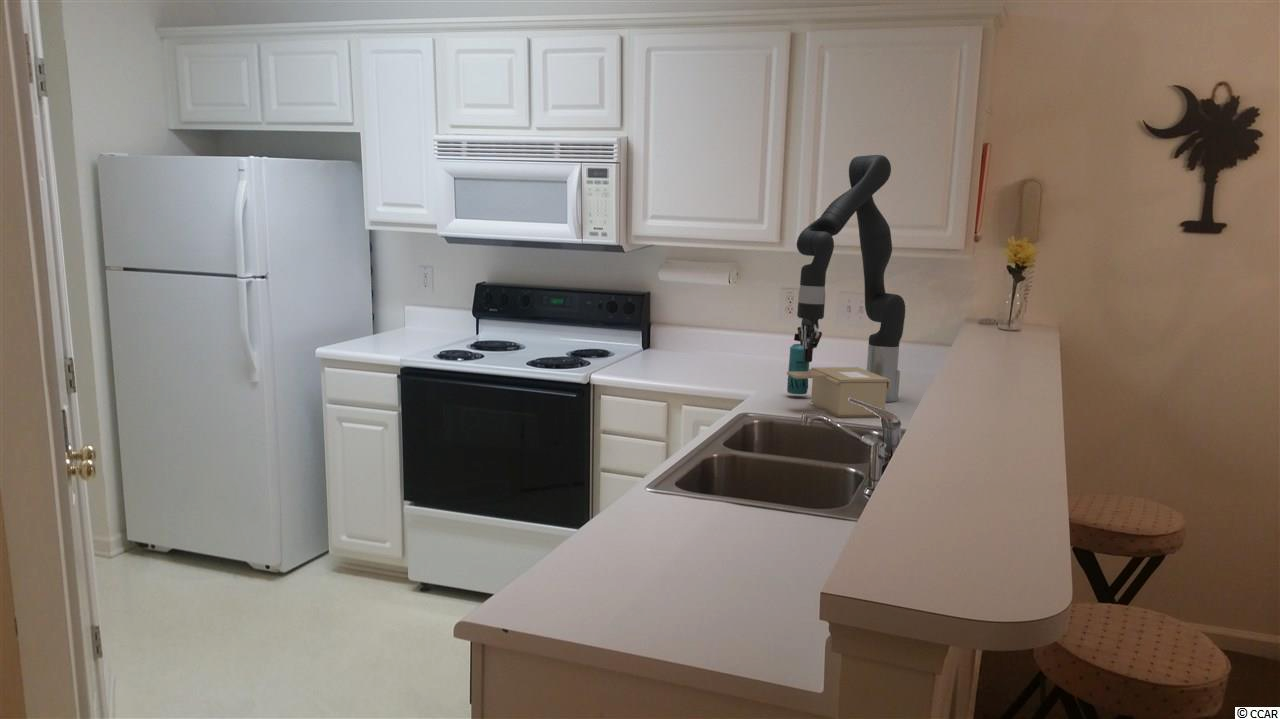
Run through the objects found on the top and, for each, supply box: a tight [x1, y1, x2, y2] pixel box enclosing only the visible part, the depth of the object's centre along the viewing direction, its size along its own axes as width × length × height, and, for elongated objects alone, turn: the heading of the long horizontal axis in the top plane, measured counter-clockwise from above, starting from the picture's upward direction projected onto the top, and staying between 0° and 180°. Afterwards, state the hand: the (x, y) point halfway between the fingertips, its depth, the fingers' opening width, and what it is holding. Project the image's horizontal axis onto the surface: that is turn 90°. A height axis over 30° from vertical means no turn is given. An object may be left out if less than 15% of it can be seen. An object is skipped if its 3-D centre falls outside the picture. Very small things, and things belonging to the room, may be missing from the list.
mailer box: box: [810, 378, 887, 419], centre depth 275 cm, size 14×20×10 cm
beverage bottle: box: [786, 333, 810, 395], centre depth 292 cm, size 6×7×20 cm
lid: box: [786, 366, 891, 389], centre depth 274 cm, size 26×21×3 cm
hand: (807, 361), depth 271 cm, fingers closed
